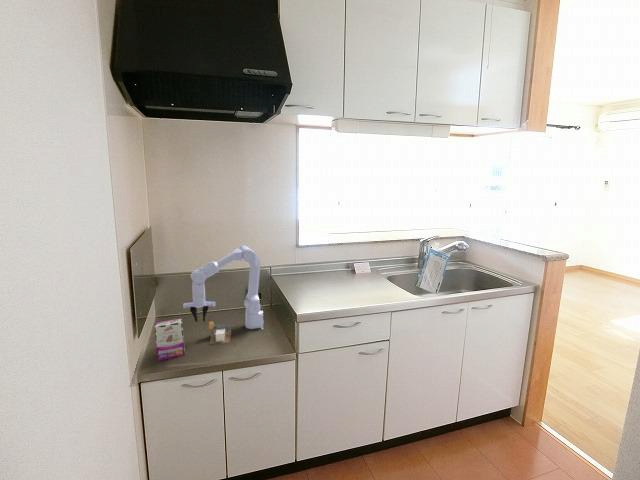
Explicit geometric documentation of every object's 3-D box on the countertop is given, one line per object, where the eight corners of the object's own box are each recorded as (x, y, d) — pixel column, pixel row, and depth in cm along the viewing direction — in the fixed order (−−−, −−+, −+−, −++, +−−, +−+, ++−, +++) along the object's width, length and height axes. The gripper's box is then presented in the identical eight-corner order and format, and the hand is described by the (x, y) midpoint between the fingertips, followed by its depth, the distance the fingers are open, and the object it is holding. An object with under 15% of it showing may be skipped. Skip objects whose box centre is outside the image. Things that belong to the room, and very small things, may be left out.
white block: (225, 333, 169) (225, 325, 168) (224, 341, 161) (224, 333, 160) (217, 333, 168) (217, 326, 167) (215, 341, 160) (215, 334, 160)
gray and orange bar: (229, 325, 167) (229, 320, 167) (229, 327, 166) (228, 322, 165) (209, 327, 165) (209, 321, 165) (209, 329, 164) (208, 323, 163)
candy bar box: (184, 350, 154) (182, 317, 150) (185, 356, 149) (182, 322, 146) (157, 355, 149) (154, 321, 146) (157, 361, 145) (154, 326, 141)
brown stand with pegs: (231, 332, 171) (231, 324, 170) (230, 343, 161) (230, 334, 160) (211, 334, 169) (211, 325, 168) (209, 345, 159) (209, 336, 158)
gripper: (181, 298, 154) (183, 325, 157) (213, 296, 158) (215, 323, 160) (184, 293, 161) (185, 319, 164) (215, 291, 164) (216, 317, 167)
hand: (200, 320), depth 163 cm, fingers open, 3 cm apart
